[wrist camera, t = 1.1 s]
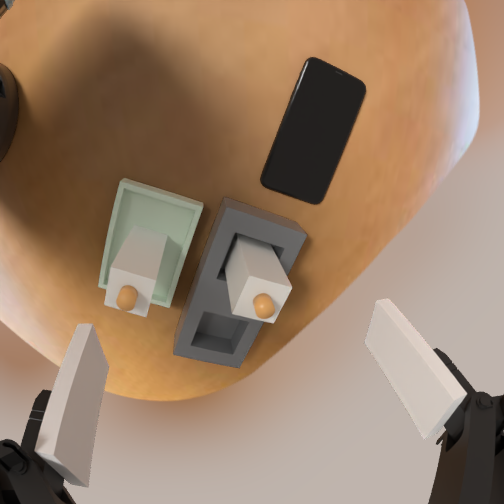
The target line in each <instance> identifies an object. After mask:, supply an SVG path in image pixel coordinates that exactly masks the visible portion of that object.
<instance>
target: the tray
mask: <svg viewBox="0 0 504 504" xmlns="http://www.w3.org/2000/svg"><path fill="white" fill-rule="evenodd" d="M202 209H203V202H200V201H197V200H194V199H191V198H187V197H184V196H181V195H178V194H175V193H172V192H169V191H165V190H162V189H159V188H156V187H153V186H150V185H146V184H143V183H140V182H137V181H133V180H130V179H127V178H123V179H122V180H121V181H120V183H119V187H118V191H117V195H116V199H115V203H114V207H113V211H112V215H111V220H110V224H109V229H108V234H107V238H106V243H105V249H104V254H103V260H102V265H101V271H100V277H99V284H98V287H100V288H103V289H106V290H107V284H108V279H109V273H110V268H111V265H112V263H113V261H114V260H115V258H116V256H117V254H118V252H119V250H120V249H121V247H122V245H123V243H124V241H125V240H126V238H127V236H128V234H129V233H130V231H131V229H132V228H133V226H134V225H137V226H140V227H144V228H147V229H150V230H153V231H156V232H160V233H163V234H166V235H168V236H167V240H166V244H165V248H164V251H163V255H162V259H161V263H160V267H159V271H158V275H157V279H156V283H155V287H154V290H153V294H152V298H151V302H150V303H153V304H156V305H160V306H164V307H167V308H170V305H171V301H172V298H173V295H174V292H175V289H176V286H177V282H178V279H179V276H180V273H181V270H182V267H183V264H184V261H185V258H186V255H187V252H188V249H189V246H190V243H191V240H192V237H193V235H194V232H195V229H196V226H197V223H198V220H199V218H200V215H201V212H202Z"/></svg>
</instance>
